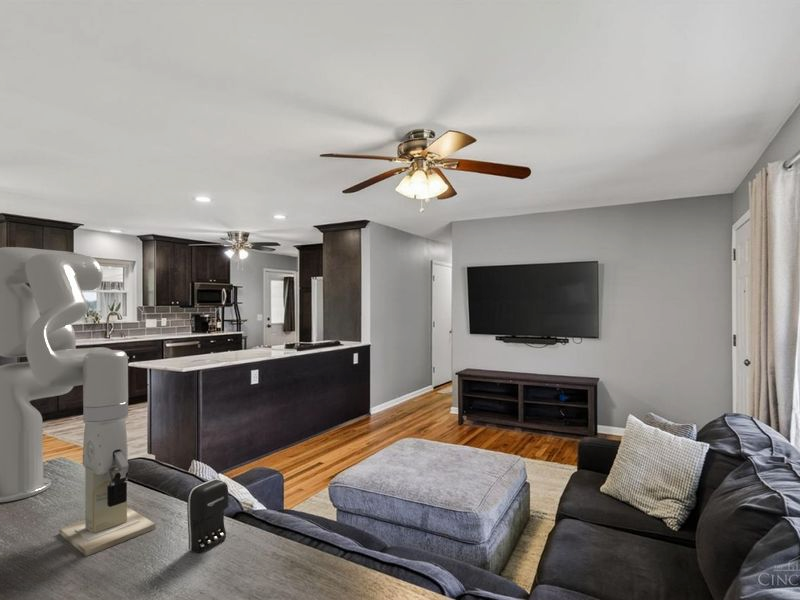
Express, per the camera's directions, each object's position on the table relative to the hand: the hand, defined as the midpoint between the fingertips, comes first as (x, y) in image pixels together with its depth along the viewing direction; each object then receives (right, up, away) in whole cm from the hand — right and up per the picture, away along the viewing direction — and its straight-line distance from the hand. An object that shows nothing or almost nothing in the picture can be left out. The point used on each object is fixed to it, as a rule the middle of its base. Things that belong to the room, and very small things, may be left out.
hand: (106, 497), depth 89 cm
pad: (0, -7, 0) cm, 7 cm away
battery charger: (+23, -6, -6) cm, 25 cm away
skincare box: (0, -6, 0) cm, 6 cm away
